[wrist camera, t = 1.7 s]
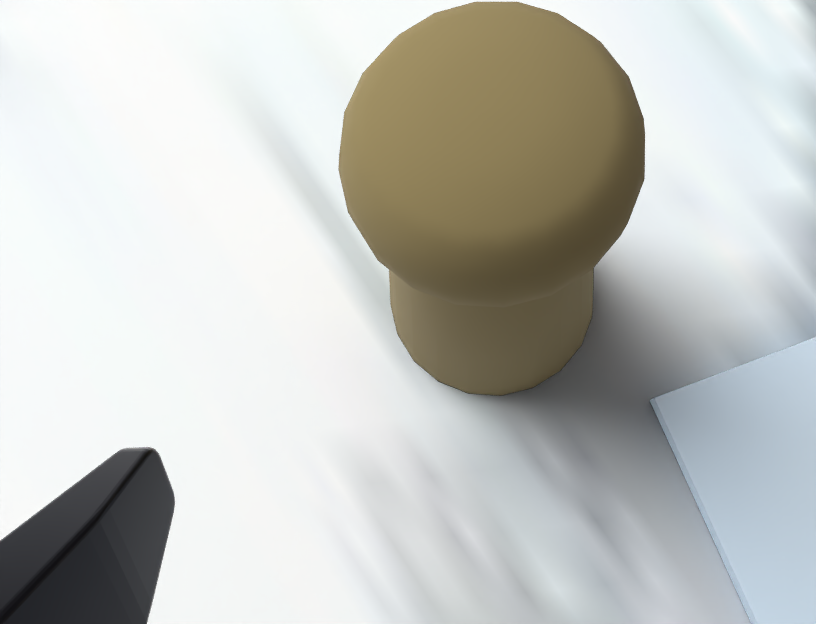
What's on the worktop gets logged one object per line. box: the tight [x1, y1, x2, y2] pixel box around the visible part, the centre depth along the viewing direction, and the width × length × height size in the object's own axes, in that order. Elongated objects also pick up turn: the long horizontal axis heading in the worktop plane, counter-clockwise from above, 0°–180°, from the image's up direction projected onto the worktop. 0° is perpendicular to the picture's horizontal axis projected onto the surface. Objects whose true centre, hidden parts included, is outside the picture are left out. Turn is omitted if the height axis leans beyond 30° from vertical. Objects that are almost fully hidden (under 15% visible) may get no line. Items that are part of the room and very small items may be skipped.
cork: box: [339, 2, 645, 396], centre depth 16 cm, size 6×6×11 cm
